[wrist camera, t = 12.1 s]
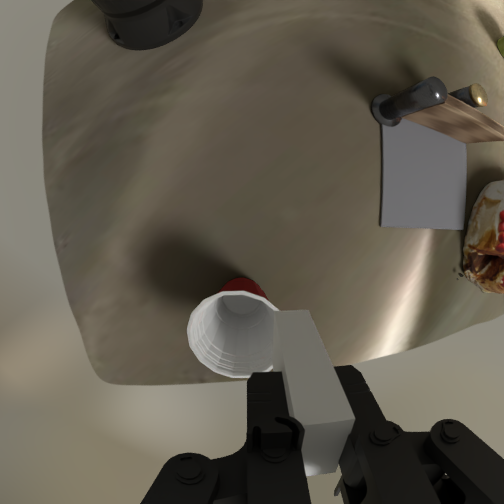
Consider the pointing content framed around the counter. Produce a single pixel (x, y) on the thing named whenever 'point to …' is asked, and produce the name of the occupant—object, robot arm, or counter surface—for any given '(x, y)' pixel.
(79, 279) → the counter surface
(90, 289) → the counter surface
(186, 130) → the counter surface
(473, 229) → the strawberry shortcake
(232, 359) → the plastic cup
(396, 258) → the counter surface
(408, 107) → the salt and pepper shakers
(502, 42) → the plant pot
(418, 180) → the rubber mat
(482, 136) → the gate
